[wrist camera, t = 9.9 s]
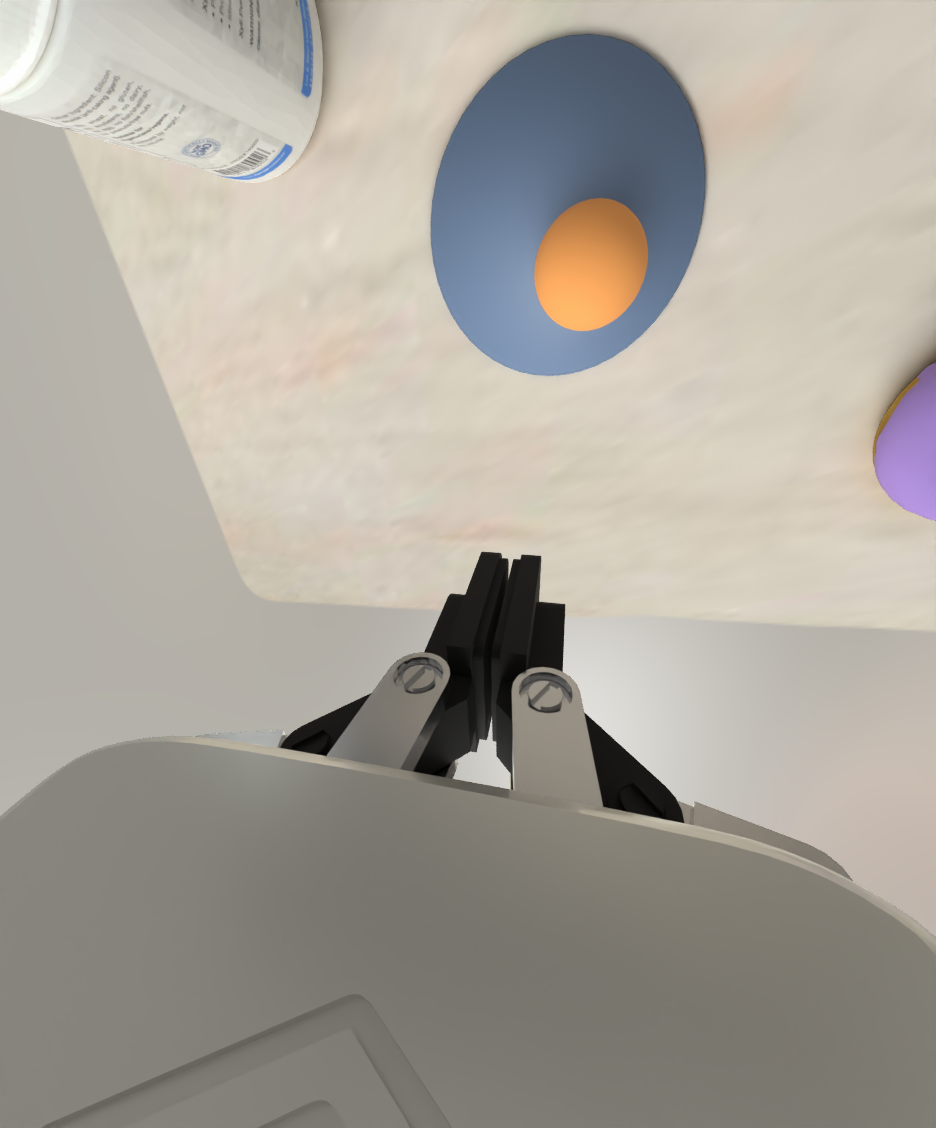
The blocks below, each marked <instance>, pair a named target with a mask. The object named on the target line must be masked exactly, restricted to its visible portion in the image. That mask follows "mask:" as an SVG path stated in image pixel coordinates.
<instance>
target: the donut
mask: <svg viewBox="0 0 936 1128" xmlns="http://www.w3.org/2000/svg"><path fill="white" fill-rule="evenodd" d="M873 464H874V467H875V472H876V476H877V478H878V481H879V483H880V485H881V486H882V488H883V489H884V490H885V492H886V493H887V494H888V496H889V497H890V498H891V499H892V500H893V501H894V502H896V503H897V504H898V505H900V506H901V507H902V508H903V509H905V510H907V511H910V512H912V513H915V514H917V515H920V516H922V517H924V518H927V519H931V520H935V521H936V363H933V364H931V365H929V366H928V367H926V368H925V369H924V370H923V371H922V372H921V373H920V374H919V375H918V376H917V377H916V378H915V379H914V380H913V381H912V382H911V383H910V384H909V385H908V386H907V387H906V388H905V389H904V390H903V391H902V392H901V393H900V394H899V395H898V397H897V398H896V399H895V401H894V402H893V403H892V405H891V406H890V407H889V409H888V410H887V412H886V414H885V415H884V417H883V419H882V421H881V423H880V426H879V428H878V431H877V434H876V436H875V441H874V446H873Z"/></svg>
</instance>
